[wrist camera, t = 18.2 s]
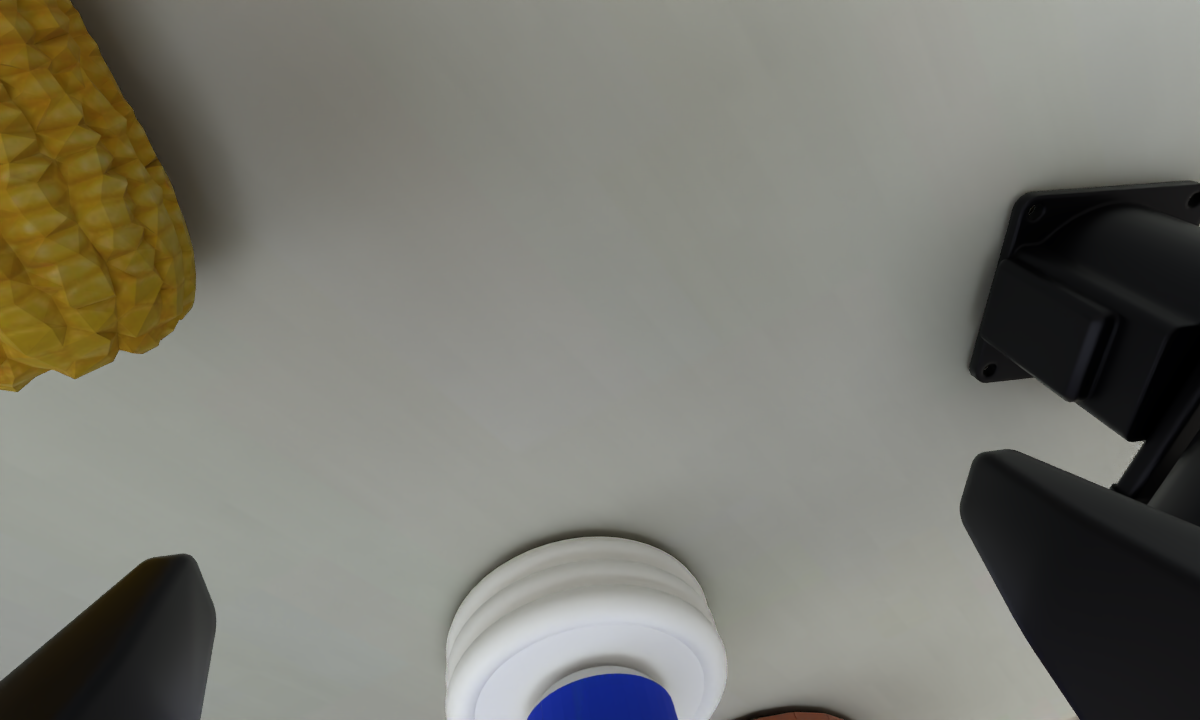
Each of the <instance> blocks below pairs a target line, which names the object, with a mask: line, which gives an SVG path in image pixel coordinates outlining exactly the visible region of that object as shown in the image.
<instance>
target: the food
mask: <svg viewBox="0 0 1200 720" xmlns="http://www.w3.org/2000/svg"><path fill="white" fill-rule="evenodd" d="M195 289H196V270H195V261H194V251H193V247H192V243H191V240H190V236H189V233H188V229H187V226H186V223H185V220H184V218H183V215H182V213H181V210H180V208H179V205H178V202H177V199H176V195H175V192H174V189H173V187H172V185H171V182H170V180H169V178H168V176H167V174H166V172H165V171H164V169H163V167H162V165H161V163H160V162H159V160H158V158H157V156H156V154H155V152H154V150H153V148H152V146H151V144H150V142H149V140H148V138H147V135H146V133H145V131H144V129H143V127H142V126H141V125H140V123H139V122H138V121H137V119H136V117H135V114H134V111H133V108H132V107H131V106H130V105H129V104H128V103H127V102H126V100H125V99H124V97H123V95H122V93H121V91H120V89H119V87H118V85H117V83H116V81H115V79H114V77H113V75H112V73H111V72H110V70H109V68H108V66H107V65H106V63H105V61H104V59H103V58H102V56H101V53H100V50H99V47H98V45H97V43H96V42H95V41H94V40H93V39H92V37H91V36H90V35H89V34H88V32H87V29H86V27H85V25H84V23H83V21H82V19H81V16H80V14H79V12H78V11H77V10H76V9H75V8H74V7H73V5H72V3H71V1H70V0H0V390H7V391H14V392H18V391H20V390H21V389H22V388H23V387H24V386H25V385H27V384H28V383H29V382H30V381H31V380H32V379H34V378H35V377H36V376H38V375H41V374H43V373H45V372H47V371H49V370H56V371H58V372H60V373H62V374H65V375H67V376H69V377H71V378H74V379H76V378H79V377H81V376H83V375H85V374H87V373H89V372H91V371H94V370H96V369H98V368H100V367H102V366H104V365H106V364H108V363H111V362H113V361H114V359H115V357H116V355H117V353H118V351H119V350H123V351H127V352H131V353H137V354H143V353H145V352H147V351H149V350H151V349H153V348H155V347H157V346H158V345H159V342H160V340H162V339H163V338H164V337H166V336H167V335H168V334H170V333H171V332H172V331H174V329H175V327H176V325H177V323H178V321H179V320H182V319H183V318H184V316H185V315H186V314H187V313H188V312H189V311H190V309H191V308H192V306H193V303H194V299H195Z"/></svg>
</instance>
